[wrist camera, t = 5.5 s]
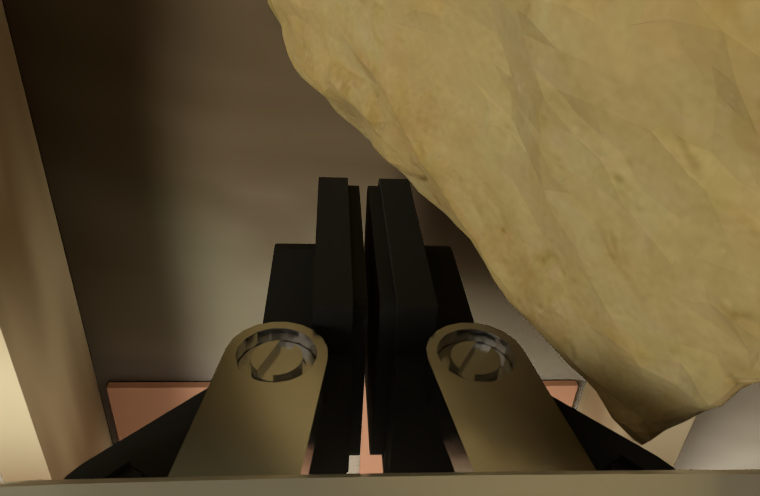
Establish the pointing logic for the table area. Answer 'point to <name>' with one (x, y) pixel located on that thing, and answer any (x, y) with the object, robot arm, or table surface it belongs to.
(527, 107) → the rock
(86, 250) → the table surface
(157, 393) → the pads
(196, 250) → the table surface
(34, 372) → the box
